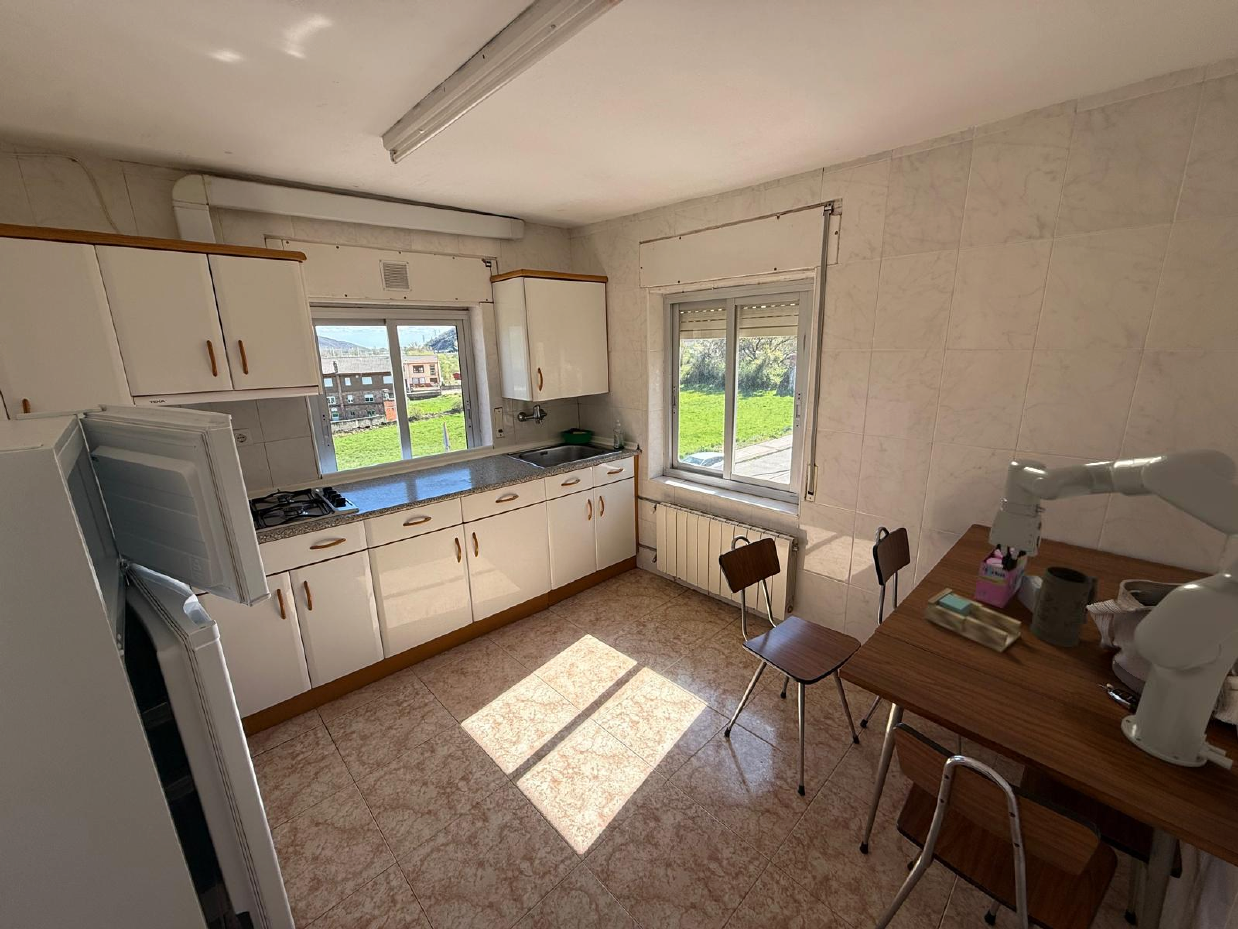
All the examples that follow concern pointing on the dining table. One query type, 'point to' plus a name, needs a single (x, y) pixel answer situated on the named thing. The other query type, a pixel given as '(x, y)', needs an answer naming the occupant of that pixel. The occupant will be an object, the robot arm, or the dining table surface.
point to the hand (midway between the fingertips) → (1008, 569)
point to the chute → (975, 622)
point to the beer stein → (1063, 605)
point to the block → (955, 605)
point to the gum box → (998, 579)
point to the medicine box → (1029, 590)
